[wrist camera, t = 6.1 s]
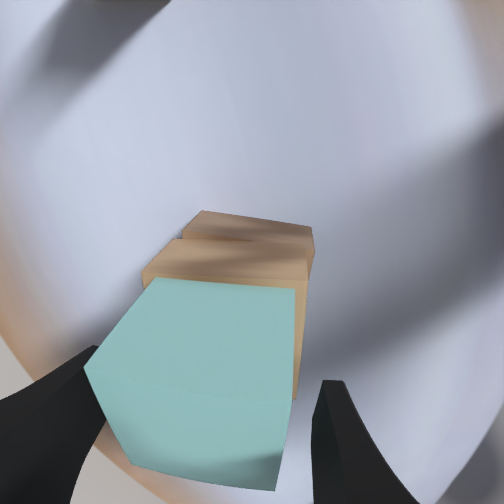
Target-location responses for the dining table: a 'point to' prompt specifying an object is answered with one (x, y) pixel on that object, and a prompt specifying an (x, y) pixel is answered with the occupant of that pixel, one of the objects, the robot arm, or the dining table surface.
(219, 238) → the brown wooden block
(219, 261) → the slab upper
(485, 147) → the dining table surface
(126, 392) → the cube
